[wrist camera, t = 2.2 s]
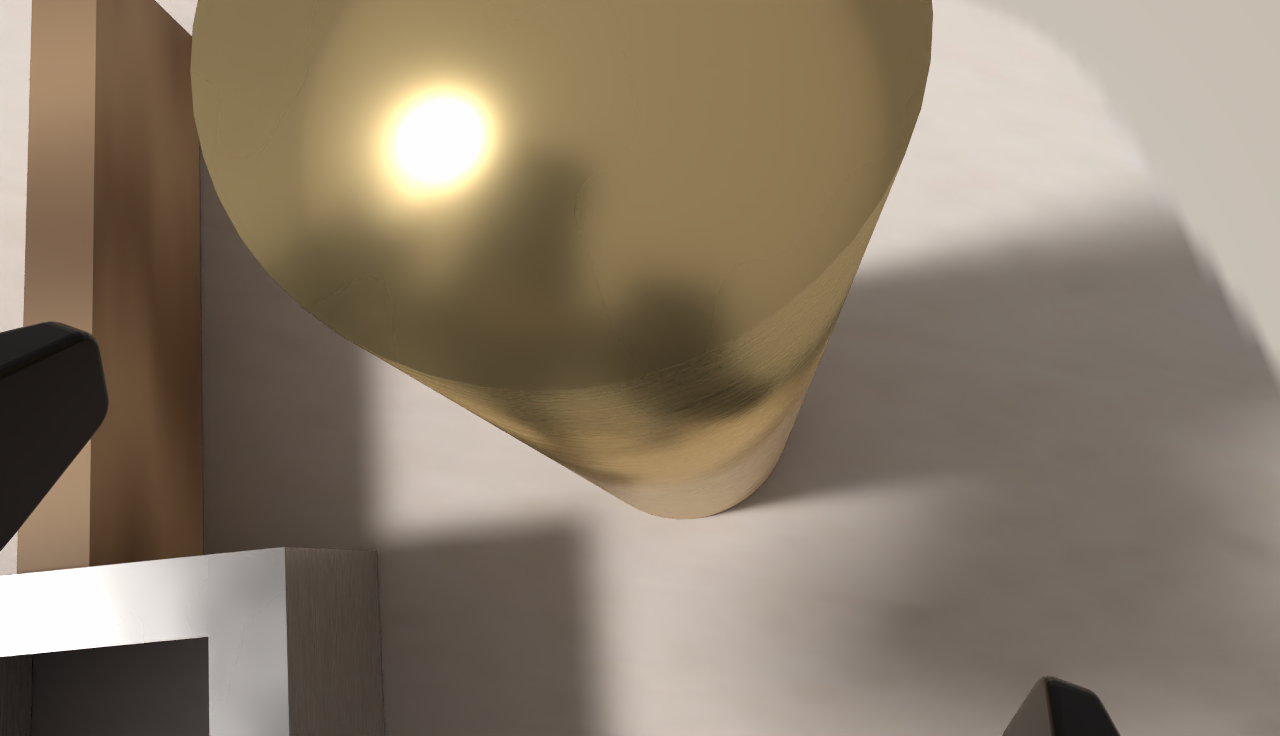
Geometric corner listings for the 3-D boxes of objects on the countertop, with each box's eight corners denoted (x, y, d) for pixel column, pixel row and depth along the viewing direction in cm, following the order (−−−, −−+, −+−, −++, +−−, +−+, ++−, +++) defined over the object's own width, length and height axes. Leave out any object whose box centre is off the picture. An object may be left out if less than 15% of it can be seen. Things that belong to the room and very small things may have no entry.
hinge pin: (802, 508, 19) (991, 340, 5) (586, 529, 19) (194, 430, 5) (775, 297, 19) (874, -354, 6) (569, 321, 20) (189, -241, 6)
